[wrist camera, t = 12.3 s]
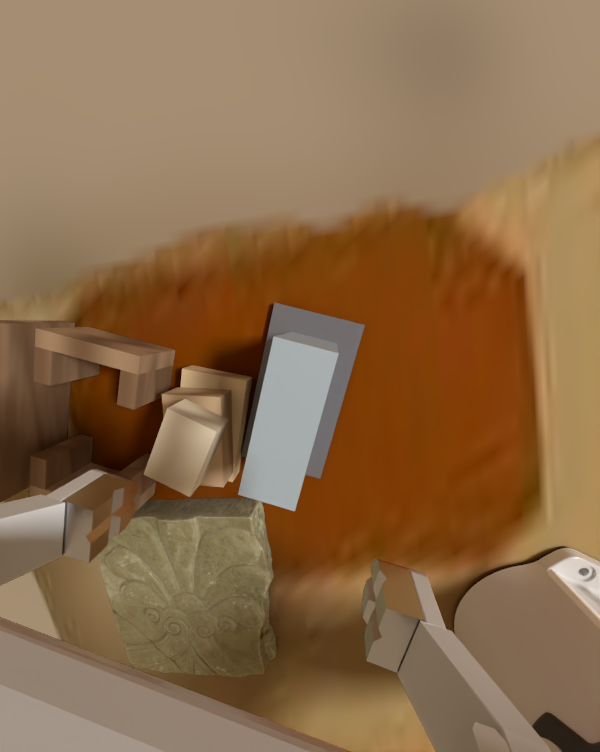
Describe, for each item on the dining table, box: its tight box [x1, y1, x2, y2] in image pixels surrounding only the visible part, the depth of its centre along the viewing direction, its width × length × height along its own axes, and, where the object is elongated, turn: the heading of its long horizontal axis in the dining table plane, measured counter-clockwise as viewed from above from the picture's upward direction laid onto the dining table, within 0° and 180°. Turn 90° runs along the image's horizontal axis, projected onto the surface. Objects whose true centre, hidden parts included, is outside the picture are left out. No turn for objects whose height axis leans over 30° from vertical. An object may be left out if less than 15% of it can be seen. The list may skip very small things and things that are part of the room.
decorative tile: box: [98, 498, 276, 677], centre depth 30 cm, size 19×20×4 cm
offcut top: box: [143, 399, 229, 497], centre depth 22 cm, size 4×6×2 cm, turn 155°
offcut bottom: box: [180, 365, 253, 482], centre depth 27 cm, size 6×10×2 cm, turn 170°
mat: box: [241, 303, 365, 479], centre depth 26 cm, size 8×15×1 cm, turn 166°
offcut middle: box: [162, 387, 233, 487], centre depth 25 cm, size 5×8×2 cm, turn 179°
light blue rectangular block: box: [238, 332, 339, 511], centre depth 22 cm, size 4×11×8 cm, turn 166°
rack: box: [0, 320, 175, 513], centre depth 25 cm, size 12×16×7 cm
